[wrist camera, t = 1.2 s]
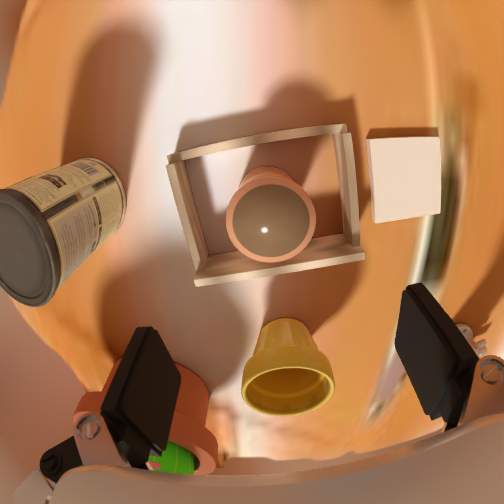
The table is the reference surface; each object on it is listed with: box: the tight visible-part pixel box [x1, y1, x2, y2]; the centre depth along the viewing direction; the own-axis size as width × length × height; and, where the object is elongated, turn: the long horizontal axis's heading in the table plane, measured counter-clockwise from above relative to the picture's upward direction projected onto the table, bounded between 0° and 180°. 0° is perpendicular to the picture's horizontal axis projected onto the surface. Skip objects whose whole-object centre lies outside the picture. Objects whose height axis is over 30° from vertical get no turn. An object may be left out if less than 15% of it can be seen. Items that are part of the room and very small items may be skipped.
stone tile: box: [366, 136, 441, 223], centre depth 26 cm, size 9×9×1 cm
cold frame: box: [166, 124, 365, 287], centre depth 26 cm, size 17×13×5 cm
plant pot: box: [241, 318, 335, 416], centre depth 32 cm, size 10×10×10 cm
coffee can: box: [0, 158, 126, 307], centre depth 22 cm, size 10×10×14 cm
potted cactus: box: [73, 358, 218, 475], centre depth 31 cm, size 22×22×25 cm
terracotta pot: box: [226, 166, 316, 263], centre depth 25 cm, size 7×7×8 cm
